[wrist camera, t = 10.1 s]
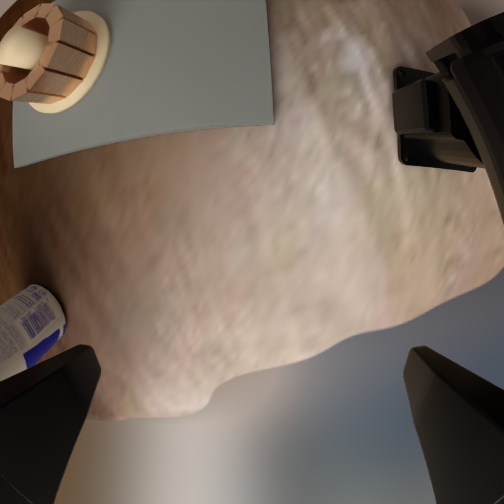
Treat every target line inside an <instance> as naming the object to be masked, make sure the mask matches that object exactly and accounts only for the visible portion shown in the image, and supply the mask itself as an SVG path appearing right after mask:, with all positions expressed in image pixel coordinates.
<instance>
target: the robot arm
mask: <svg viewBox="0 0 504 504" xmlns="http://www.w3.org/2000/svg"><path fill="white" fill-rule="evenodd" d="M426 54H427V56H428V57H429V59H430V60H431V62H434V63H435V65H436V66H437V68H438V69H439V71H440V72H439V73H437V74H434V73H430V72H426V71H421V70H417V69H412V68H407V67H397V68H396V69H394V71H393V78H394V87H395V92H394V93H393V94H392V97H393V110H394V127H395V132H396V133H397V134H398V158H399V161H400V162H401V163H402V164H404V165H411V166H422V167H433V168H442V169H451V170H459V171H467V172H474V171H475V170H476V168H477V167H479V168H485V169H486V172H487V175H488V177H489V180H490V183H491V186H492V189H493V192H494V195H495V198H496V201H497V204H498V208H499V211H500V214H501V218H502V221H503V224H504V12H503V13H500V14H498V15H495V16H493V17H490V18H488V19H486V20H484V21H481V22H479V23H477V24H475V25H473V26H471V27H469V28H467V29H465V30H463V31H461V32H459V33H457V34H455V35H453V36H452V37H450V38H448V39H447V40H445V41H443V42H442V43H440V44H439V45H437V46H435V47H434V48H432V49H431V50H429V51H428V52H426ZM399 71H400V72H402V73H403V77H401V76H400V75H399ZM405 154H407V155H408V160H407V161H406V160H405V159H404V155H405ZM470 166H471V167H470ZM100 375H101V367H100V364H99V362H98V359H97V357H96V354H95V351H94V349H93V348H92V347H91V346H89V345H83V344H80V345H77V346H75V347H73V348H71V349H69V350H66V351H64V352H62V353H60V354H58V355H56V356H54V357H52V358H49V359H47V360H45V361H43V362H41V363H39V364H37V365H34V366H32V367H30V368H28V369H26V370H24V371H22V372H19V373H17V374H15V375H13V376H11V377H9V378H6V379H4V380H2V381H0V504H54V502H55V499H56V496H57V493H58V489H59V487H60V484H61V481H62V478H63V476H64V473H65V470H66V467H67V465H68V462H69V459H70V457H71V454H72V451H73V449H74V446H75V444H76V441H77V439H78V436H79V434H80V431H81V429H82V427H83V424H84V422H85V420H86V417H87V415H88V412H89V409H90V406H91V403H92V399H93V396H94V393H95V390H96V387H97V384H98V381H99V378H100ZM403 377H404V381H405V386H406V390H407V394H408V398H409V403H410V408H411V413H412V417H413V422H414V425H415V428H416V431H417V435H418V437H419V441H420V444H421V447H422V451H423V454H424V458H425V461H426V464H427V468H428V471H429V475H430V479H431V483H432V487H433V491H434V495H435V499H436V504H504V390H503V389H501V388H499V387H497V386H496V385H494V384H492V383H490V382H489V381H487V380H485V379H483V378H481V377H479V376H478V375H476V374H475V373H473V372H471V371H469V370H467V369H466V368H464V367H462V366H460V365H459V364H457V363H455V362H453V361H452V360H450V359H448V358H446V357H444V356H443V355H441V354H439V353H437V352H435V351H434V350H432V349H430V348H428V347H427V346H416V347H412V348H411V349H410V351H409V354H408V358H407V361H406V364H405V367H404V372H403Z"/></svg>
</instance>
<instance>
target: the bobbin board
mask: <svg viewBox="0 0 504 504" xmlns="http://www.w3.org/2000/svg"><path fill="white" fill-rule="evenodd" d="M50 4H57V5H59V6H61V7H63V8H64V9H66V10H68V11H70V12H72V13H74V14H76V15H77V16H79V17H81V18H83V19H84V20H86V21H88V22H90V24H91V25H92V27H93V28H94V30H95V31H96V33H97V35H96V36H98V38H97V50H96V55H95V56H92V57H94V58H95V59H94V61H93V63H92V65H91V67H90V69H89V72H88V74H87V76H86V78H82V77H81V78H82V79H83V82H82V83H81V84H80V85H79V86H78V87H77V88H76V89H75V90H74V91H73V92H72V93H71V94H70V95H69V96H66V98H65V99H63V100H60V101H58V102H55V103H52V104H42V103H32V102H20V101H13V158H14V168H18V167H24V166H27V165H30V164H33V163H37V162H40V161H43V160H47V159H50V158H54V157H57V156H61V155H65V154H68V153H72V152H76V151H80V150H84V149H89V148H93V147H97V146H102V145H107V144H111V143H116V142H121V141H127V140H132V139H138V138H144V137H150V136H156V135H163V134H170V133H177V132H185V131H194V130H203V129H214V128H225V127H239V126H258V125H274V116H273V98H272V80H271V64H270V50H269V36H268V22H267V10H266V0H55V1H54V2H52V3H50ZM47 42H48V36H45V35H43V34H40V33H37V32H34V31H31V30H28V29H25V28H22V27H19V26H15V27H13V28H12V29H10V30H9V31H8V32H7V33H6V35H5V36H4V37H3V39H2V41H1V43H0V64H3V65H9V66H14V67H19V68H24V69H29V70H32V69H33V68H34V67H35V66H36V65H37V63H38V62H39V60H40V58H41V56H42V53H43V51H44V49H45V47H46V45H47Z"/></svg>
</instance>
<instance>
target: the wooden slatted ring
mask: <svg viewBox="0 0 504 504" xmlns="http://www.w3.org/2000/svg"><path fill="white" fill-rule="evenodd" d="M15 26H19V27H22V28H25V29H28V30H31V31H34V32H37V33H40V34H43V35H45V36H48V42H47V45H46V47H45V49H44V51H43V53H42V56H41V58H40V60H39V62H38V63H37V65H36V66H35V67H34V68H33V69H32V70H29V69H24V68H19V67H14V66H9V65H3V64H0V97H1V98H4V99H6V100H9V101H20V102H32V103H42V104H52V103H55V102H58V101H60V100H63V99H65V98H66V96H69V95H70V94H71V93H72V92H73V91H74V90H75V89H76V88H77V87H78V86H79V85H80V84H81V83H82V82H83V79H82V78H86V76H87V74H88V72H89V69H90V67H91V65H92V63H93V61H94V59H95V58H94V57H92V56H95V55H96V50H97V38H98V36H96V35H97V33H96V31H95V30H94V28H93V27H92V25H91V24H90V22H88V21H86V20H84V19H83V18H81V17H79V16H77V15H76V14H74V13H72V12H70V11H68V10H66V9H64V8H63V7H61V6H59V5H57V4H41V5H40V4H39V5H38V6H36V7H35V8H33V9H31V10H30V11H28V12H27V13H25V14H24V16H23V17H21V18H20V19H19V20H18V21H17V23H16V24H15V25H14V26H13V27H15ZM13 27H12V28H13ZM81 77H82V78H81Z"/></svg>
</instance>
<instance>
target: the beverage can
mask: <svg viewBox="0 0 504 504" xmlns="http://www.w3.org/2000/svg"><path fill="white" fill-rule="evenodd" d="M65 329H66V322H65V317H64V313H63V311H62V309H61V306H60V305H59V303H58V301H57V300H56V299H55V297H54V296H53V295H52V294H51V293H50V292H49V291H48V290H46V289H45V288H43V287H41V286H39V285H35V284H33V285H29V286H28V287H26V288H25V289H23V290H22V291H21V292H19V293H18V294H16V295H15V296H13V297H12V298H11V299H9V300H8V301H6V302H5V303H4V304H2V305H1V306H0V381H2V380H4V379H6V378H9V377H11V376H13V375H15V374H17V373H19V372H22V371H24V370H26V369H28V368H30V367H32V366H34V365H35V364H36V363H37V362H38V361H39V359H40V358H41V357H42V356H43V355H44V354H45V353H46V352H47V351H48V350H49V349H50V348H51V347H52V346H53V345H54V344H55V343H56V342H57V341H58V340H59V339H60V338H61V336H62V335H63V334H64V332H65Z"/></svg>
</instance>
